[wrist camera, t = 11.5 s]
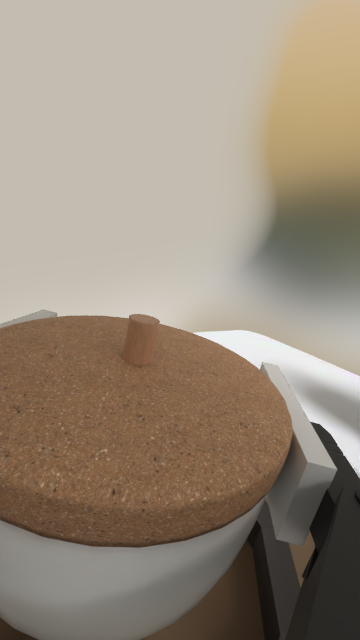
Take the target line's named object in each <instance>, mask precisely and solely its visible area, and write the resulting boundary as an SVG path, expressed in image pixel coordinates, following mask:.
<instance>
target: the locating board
mask: <svg viewBox="0 0 360 640" xmlns="http://www.w3.org/2000/svg"><path fill="white" fill-rule="evenodd" d="M314 548H315V544H314V541H313V538H312V535H311V532H309V534H308V536H307V538H306V541H305V543H304V545H303V547H302V546H299V545H295V544H292V543H288V542H284V541H281V540H277V539H276V536H275V532H274V527H273V522H272V518H271V513H270V509H269V504H268V500H267V496H266V499H265V501H264V504H263V506H262V508H261V511H260V513H259V515H258V517H257V520H256V522H255V524H254V526H253V528H252V530H251V532H250V534H249V535H248V537H247V539H246V541H245V543H244V544H243V546H242V548H241V550H240V551H239V553H238V554H237V556H236V558H235V559H234V561H233V563H232V564H231V566H230V567H229V569H228V570H227V571H226V572H225V574H224V575H223V576H222V577H221V578H220V579H219V580H218V582H217V583H216V584H215V585H214V586H213V587H212V589H211V590H210V591H209V592H208V593H207V594H206V595H205V596H204V598H203V599H202V600H201V601H200V602H199V603H198V604H197V605H196V606H195V607H194V608H192V609H191V610H190V611H188V612H187V613H186V614H185V615H183V616H182V617H181V618H179V619H178V620H177V621H176V622H174V623H173V624H171V625H169V626H167V627H165V628H163V629H161V630H159V631H157V632H155V633H153V634H151V635H149V636H147V637H145V638H142V639H140V640H285V638H286V635H287V632H288V629H289V625H290V622H291V619H292V616H293V612H294V609H295V606H296V603H297V599H298V596H299V593H300V590H301V586H302V583H303V580H304V578H303V577H302V574H303V572H304V570H305V568H306V566H307V563H308V561H309V559H310V557H311V555H312V553H313V550H314ZM0 640H38V639H36V638H34V637H31V636H29V635H27V634H25V633H23V632H21V631H19V630H17V629H15V628H13V627H12V626H10V625H9V624H8V623H7V622H5V621H4V620H3V619H2V618H0Z"/></svg>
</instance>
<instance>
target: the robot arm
mask: <svg viewBox="0 0 360 640" xmlns="http://www.w3.org/2000/svg"><path fill="white" fill-rule="evenodd" d="M52 317H57V313H55V312H50V311H47V310H41V311H38V312H35V313H32V314H29V315H27V316H23V317H20V318H18V319H14V320H12V321H9V322H6V323H3V324H0V328H3V327H6V326H10V325H13V324H17V323H22V322H26V321H30V320H36V319H44V318H52ZM260 371H261V372H263V373H264V374H265V375H266V376H267V377H268V378H269V379H270V380H271V381H272V383H273V384H274V385H275V386H276V387H277V389H278V390H279V392H280V393H281V395H282V396H283V398H284V399H285V402H286V405H287V408H288V410H289V413H290V416H291V420H292V431H293V435H292V439H291V444H290V449H289V452H288V455H287V458H286V460H285V463H284V465H283V468H282V470H281V472H280V474H279V475H278V477H277V479H276V481H275V482H274V484H273V486H272V488H271V489H270V491H269V493H268V494H267V500H268V504H269V509H270V513H271V518H272V522H273V527H274V532H275V536H276V539H277V540H281V541H284V542H288V543H292V544H295V545H299V546H302V547H303V545H304V543H305V541H306V538H307V536H308V534H309V532H311V535H312V538H313V541H314V544H315V548H314V550H313V553H312V555H311V557H310V559H309V561H308V563H307V566H306V568H305V570H304V572H303V574H302V577H303V578H304V580H303V583H302V586H301V590H300V593H299V596H298V599H297V603H296V606H295V609H294V612H293V616H292V619H291V622H290V625H289V629H288V632H287V635H286V638H285V640H360V479H359V477H358V476H357V474H356V473H355V471H354V469H353V468H352V466H351V465H350V463H349V462H348V460H347V459H346V457H345V456H343V453H342V451H341V449H340V448H339V447H337V443H336V442H335V440H334V439H333V437H332V436H331V434H330V433H329V432H328V431H326V430H325V429H324V428H323V427H322V426H321V425H320V424H316V423H312V422H310V421H309V419H308V418H307V416H306V414H305V412H304V411H303V409H302V407H301V405H300V404H299V402H298V400H297V399H296V397H295V395H294V393H293V392H292V390H291V388H290V386H289V385H288V383H287V381H286V379H285V378H284V376H283V374H282V372H281V371H280V369H279V367H278V366H276V365H272V364H268V363H264V362H262V365H261V368H260Z"/></svg>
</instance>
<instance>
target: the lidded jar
mask: <svg viewBox="0 0 360 640" xmlns="http://www.w3.org/2000/svg"><path fill="white" fill-rule="evenodd" d="M159 322H160V321H159V320H158V319H156V318H154V317H151V316H147V315H141V314H133V315H130V316H129V318H119V317H108V316H63V317H52V318H44V319H36V320H30V321H26V322H22V323H17V324H13V325H10V326H6V327H3V328H0V618H2V619H3V620H4V621H5V622H7V623H8V624H9V625H10V626H12V627H13V628H15V629H17V630H19V631H21V632H23V633H25V634H27V635H29V636H31V637H34V638H36V639H38V640H140V639H142V638H145V637H147V636H149V635H151V634H153V633H155V632H157V631H159V630H161V629H163V628H165V627H167V626H169V625H171V624H173V623H174V622H176V621H177V620H178V619H179V618H181V617H182V616H183V615H185V614H186V613H187V612H188V611H190V610H191V609H192V608H194V607H195V606H196V605H197V604H198V603H199V602H200V601H201V600H202V599H203V598H204V596H205V595H206V594H207V593H208V592H209V591H210V590H211V589H212V587H213V586H214V585H215V584H216V583H217V582H218V580H219V579H220V578H221V577H222V576H223V575H224V574H225V572H226V571H227V570H228V569H229V567H230V566H231V564H232V563H233V561H234V559H235V558H236V556H237V554H238V553H239V551H240V550H241V548H242V546H243V544H244V543H245V541H246V539H247V537H248V535H249V534H250V532H251V530H252V528H253V526H254V524H255V522H256V520H257V517H258V515H259V513H260V511H261V508H262V506H263V504H264V501H265V499H266V496H267V494H268V493H269V491H270V489H271V488H272V486H273V484H274V482H275V481H276V479H277V477H278V475H279V474H280V472H281V470H282V468H283V465H284V463H285V460H286V458H287V455H288V452H289V449H290V444H291V439H292V435H293V431H292V420H291V416H290V413H289V410H288V408H287V405H286V402H285V399H284V398H283V396H282V395H281V393H280V392H279V390H278V389H277V387H276V386H275V385H274V384H273V383H272V381H271V380H270V379H269V378H268V377H267V376H266V375H265V374H264V373H263V372H261V371H260V370H259V369H258V368H257V367H255V366H254V365H253V364H251V363H250V362H249V361H247V360H246V359H244V358H243V357H241V356H239V355H238V354H236V353H234V352H233V351H231V350H229V349H227V348H225V347H223V346H221V345H220V344H218V343H215V342H213V341H210V340H208V339H206V338H203V337H201V336H198V335H195V334H193V333H190V332H187V331H183V330H180V329H177V328H173V327H169V326H165V325H161V324H159Z"/></svg>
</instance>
